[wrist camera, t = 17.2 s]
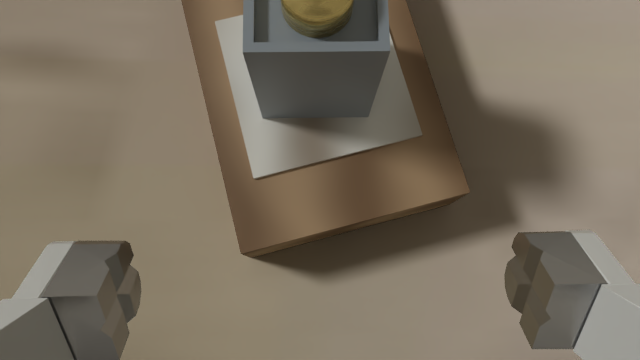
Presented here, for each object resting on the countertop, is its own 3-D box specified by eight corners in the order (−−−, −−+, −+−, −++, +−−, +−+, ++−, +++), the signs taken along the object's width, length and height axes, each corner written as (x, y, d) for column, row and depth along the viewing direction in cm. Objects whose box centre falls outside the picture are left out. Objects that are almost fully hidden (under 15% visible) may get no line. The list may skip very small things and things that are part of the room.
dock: (251, 257, 28) (240, 253, 24) (189, -2, 32) (170, -44, 27) (449, 204, 29) (471, 191, 25) (368, -43, 32) (376, -90, 28)
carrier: (262, 118, 26) (242, 52, 18) (263, 38, 27) (244, -55, 19) (368, 116, 26) (390, 51, 18) (364, 37, 27) (384, -56, 19)
